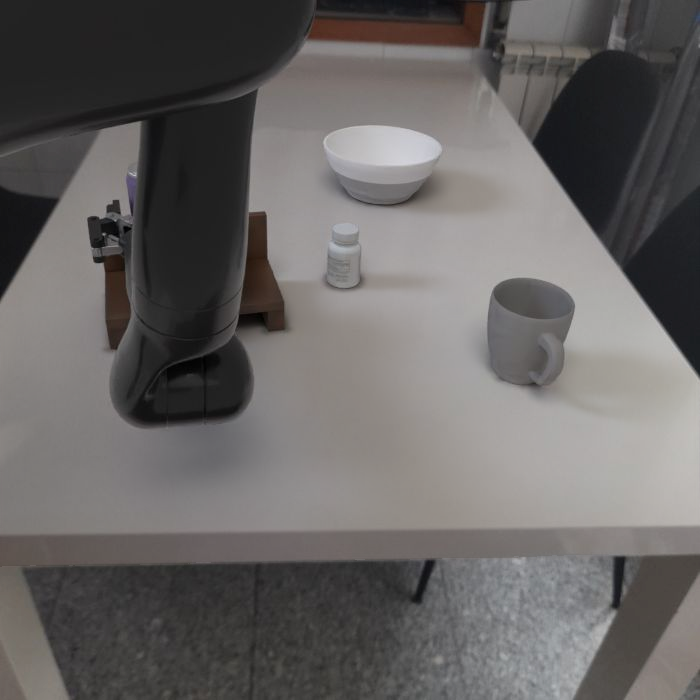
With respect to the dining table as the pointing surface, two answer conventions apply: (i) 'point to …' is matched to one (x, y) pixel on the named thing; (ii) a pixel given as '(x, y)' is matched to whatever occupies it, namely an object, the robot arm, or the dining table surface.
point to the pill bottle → (344, 256)
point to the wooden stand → (256, 290)
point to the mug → (528, 330)
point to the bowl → (381, 161)
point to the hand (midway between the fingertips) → (156, 205)
